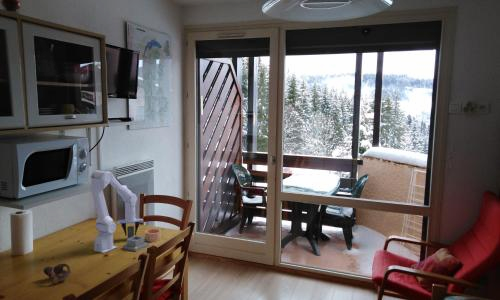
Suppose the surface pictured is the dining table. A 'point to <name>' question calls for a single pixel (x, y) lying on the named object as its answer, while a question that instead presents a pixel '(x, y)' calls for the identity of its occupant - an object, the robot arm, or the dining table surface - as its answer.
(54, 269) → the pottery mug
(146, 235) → the cup
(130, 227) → the battery cell
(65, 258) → the dining table surface
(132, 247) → the checker housing
